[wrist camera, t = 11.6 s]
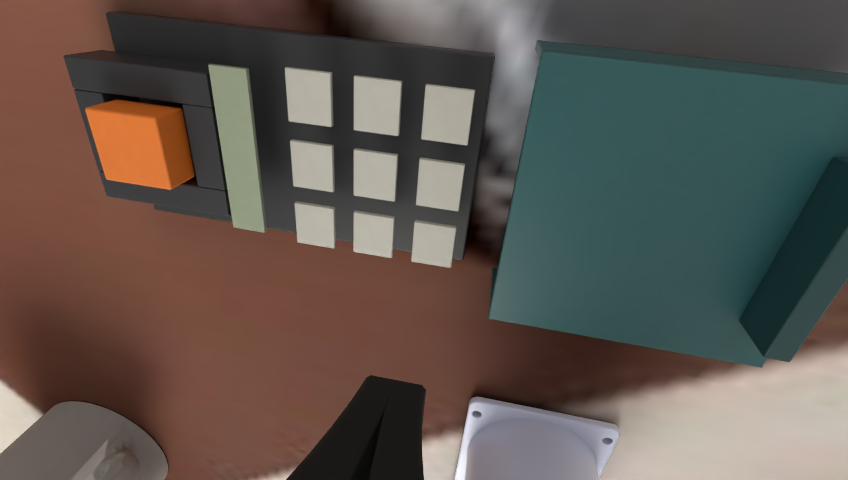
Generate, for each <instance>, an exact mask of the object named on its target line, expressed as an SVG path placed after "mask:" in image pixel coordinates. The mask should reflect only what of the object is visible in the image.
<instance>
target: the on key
mask: <svg viewBox="0 0 848 480" xmlns="http://www.w3.org/2000/svg"><path fill="white" fill-rule="evenodd" d="M85 111H86V114H87V118H88V121H89V124H90V128H91V131H92V134H93V138H94V141H95V144H96V148H97V151H98V154H99V157H100V161H101V164H102V167H103V171H104V174H105V177H106V179H107V180H112V181H118V182H125V183H131V184H137V185H143V186H150V187H156V188H162V189H168V190H171V189H173V188H175V187H177V186H178V185H180V184H182V183H184V182H185V181H187V180H189V179H191V178H192V177H194V176H195V172H194V167H193V162H192V157H191V151H190V146H189V141H188V136H187V131H186V125H185V120H184V115H183V110H182V109H181V108H177V107H170V106H162V105H155V104H148V103H140V102H133V101H126V100H118V99H116V100H113V101H109V102H105V103H101V104H98V105H94V106H90V107H87V108H85Z"/></svg>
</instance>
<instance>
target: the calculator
mask: <svg viewBox="0 0 848 480" xmlns="http://www.w3.org/2000/svg"><path fill="white" fill-rule="evenodd" d="M106 16H107V20H108V24H109V28H110V32H111V36H112V40H113V44H114V48H115V52H113V51H105V50H99V51H92V52H85V53H78V54H71V55H65V56H64V59H65V63H66V66H67V69H68V72H69V76H70V79H71V82H72V85H73V88H74V89H75V90H74V92H75V95H76V98H77V101H78V105H79V108H80V111H81V114H82V118H83V121H84V124H85V127H86V131H87V134H88V137H89V140H90V143H91V147H92V150H93V153H94V156H95V160H96V163H97V166H98V169H99V170H100V176H101V179H102V182H103V185H104V188H105V192H106V195H107V196H109V197H115V198H121V199H127V200H133V201H139V202H145V203H151V204H154V207H155V209H156V210H161V211H167V212H173V213H179V214H185V215H191V216H197V217H203V218H209V219H215V220H221V221H227V222H232V215H231V209H230V202H229V196H228V189H227V183H226V177H225V170H224V164H223V157H222V151H221V144H220V138H219V131H218V125H217V119H216V112H215V106H214V99H213V93H212V86H211V80H210V73H209V67H208V65H209V64H217V65H225V66H233V67H242V68H248V69H249V76H250V85H251V94H252V103H253V112H254V120H255V129H256V138H257V147H258V156H259V165H260V174H261V183H262V192H263V201H264V210H265V219H266V228H270V229H276V230H282V231H288V232H294V233H297V229H296V216H295V202H296V201H299V202H306V203H312V204H318V205H325V206H331V207H335V227H336V240H342V241H348V242H354V211H355V210H356V211H363V212H369V213H375V214H382V215H388V216H394V217H395V224H394V242H393V249H396V250H402V251H408V252H412V246H413V234H414V222H415V220H420V221H426V222H433V223H439V224H445V225H452V226H456V227H457V228H456V235H455V242H454V250H453V257H452V259H456V260H463V259H464V254H465V248H466V241H467V234H468V228H469V221H470V215H471V208H472V202H473V195H474V188H475V182H476V175H477V169H478V162H479V155H480V149H481V142H482V136H483V129H484V123H485V116H486V109H487V103H488V96H489V90H490V83H491V77H492V70H493V63H494V57H495V56H494V54H493V53H485V52H476V51H467V50H458V49H449V48H440V47H431V46H422V45H413V44H404V43H395V42H386V41H377V40H368V39H359V38H350V37H341V36H332V35H323V34H314V33H305V32H296V31H288V30H279V29H270V28H261V27H252V26H243V25H234V24H225V23H216V22H207V21H198V20H189V19H180V18H171V17H162V16H153V15H144V14H135V13H126V12H107V13H106ZM286 67H292V68H300V69H308V70H317V71H325V72H332V90H333V126H332V127H328V126H320V125H313V124H306V123H298V122H291V121H289V120H288V106H287V92H286V79H285V68H286ZM355 75H358V76H366V77H374V78H382V79H391V80H399V81H402V97H401V115H400V133H399V136H394V135H387V134H379V133H372V132H364V131H357V130H354V76H355ZM426 84H432V85H440V86H448V87H457V88H465V89H473V90H475V96H474V103H473V110H472V118H471V125H470V132H469V140H468V145H460V144H453V143H445V142H438V141H431V140H423V139H421V135H422V123H423V110H424V98H425V85H426ZM116 99H118V100H126V101H133V102H140V103H148V104H155V105H162V106H170V107H177V108H181V109H182V110H183V115H184V120H185V125H186V131H187V136H188V141H189V146H190V151H191V157H192V162H193V167H194V172H195V176H194V177H192V178H191V179H189V180H187V181H185V182H184V183H182V184H180V185H178V186H177V187H175V188H173V189H171V190H168V189H162V188H156V187H150V186H143V185H137V184H131V183H125V182H118V181H112V180H107V179H106V177H105V174H104V171H103V167H102V164H101V161H100V157H99V154H98V151H97V148H96V144H95V141H94V138H93V134H92V131H91V128H90V124H89V121H88V118H87V114H86V111H85V108H87V107H90V106H94V105H98V104H101V103H105V102H109V101H113V100H116ZM292 139H294V140H301V141H308V142H315V143H322V144H329V145H334V181H335V191H334V192H328V191H322V190H315V189H308V188H302V187H295V186H293V175H292V161H291V147H290V140H292ZM355 148H358V149H365V150H372V151H379V152H386V153H393V154H398V169H397V188H396V200H395V202H393V201H387V200H380V199H374V198H367V197H361V196H354V149H355ZM421 157H422V158H429V159H436V160H443V161H450V162H457V163H464V164H465V169H464V176H463V184H462V191H461V198H460V206H459V211H452V210H445V209H439V208H432V207H426V206H419V205H416V197H417V185H418V172H419V160H420V158H421Z"/></svg>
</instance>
